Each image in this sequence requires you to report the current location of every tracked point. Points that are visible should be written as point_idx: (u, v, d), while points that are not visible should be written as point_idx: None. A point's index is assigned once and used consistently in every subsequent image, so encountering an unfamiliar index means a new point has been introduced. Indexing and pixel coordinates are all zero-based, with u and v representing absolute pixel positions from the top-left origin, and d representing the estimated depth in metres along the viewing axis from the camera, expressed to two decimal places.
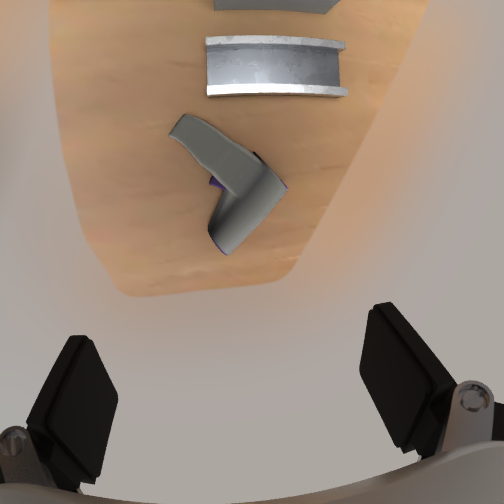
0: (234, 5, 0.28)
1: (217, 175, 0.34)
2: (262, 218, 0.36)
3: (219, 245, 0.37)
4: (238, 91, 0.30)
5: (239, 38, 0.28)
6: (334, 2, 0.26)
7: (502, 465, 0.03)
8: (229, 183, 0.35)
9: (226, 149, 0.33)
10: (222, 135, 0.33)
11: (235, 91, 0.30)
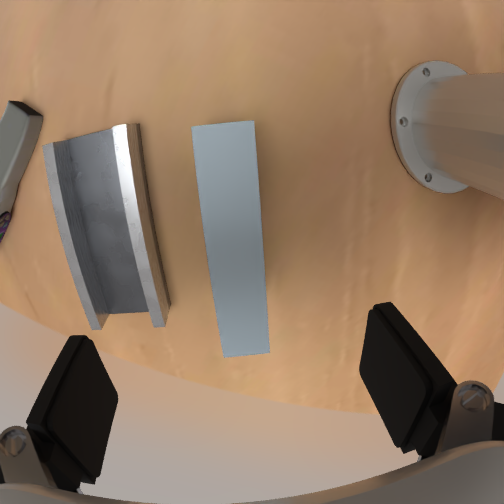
0: None
1: None
2: None
3: None
4: (50, 188, 0.19)
5: (127, 177, 0.20)
6: None
7: (502, 465, 0.03)
8: None
9: None
10: (7, 173, 0.19)
11: (50, 184, 0.19)
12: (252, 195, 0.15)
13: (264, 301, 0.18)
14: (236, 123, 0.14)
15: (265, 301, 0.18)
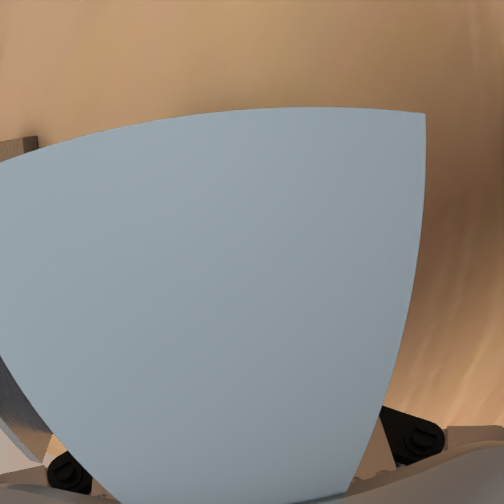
0: None
1: None
2: None
3: None
4: None
5: None
6: None
7: (502, 465, 0.03)
8: None
9: None
10: None
11: None
12: (325, 484, 0.03)
13: None
14: (273, 126, 0.01)
15: None
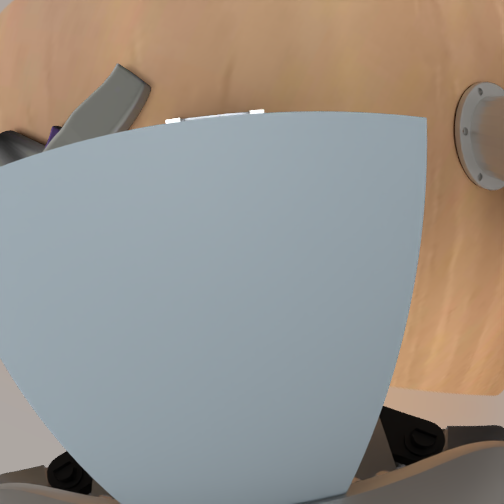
0: None
1: (57, 137, 0.20)
2: None
3: None
4: None
5: None
6: None
7: (502, 465, 0.03)
8: None
9: None
10: None
11: None
12: (325, 486, 0.03)
13: None
14: (274, 131, 0.01)
15: None
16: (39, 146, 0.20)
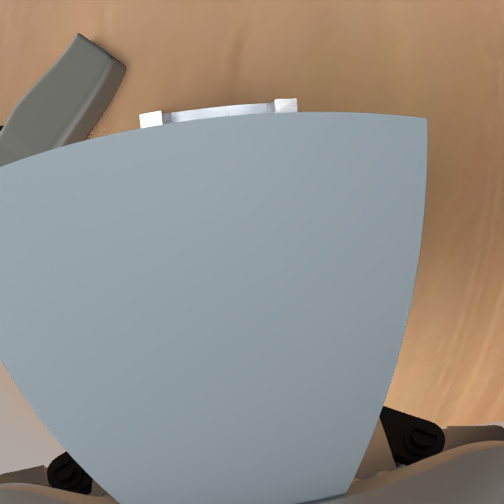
0: None
1: None
2: None
3: None
4: None
5: None
6: None
7: (502, 465, 0.03)
8: None
9: (33, 154, 0.12)
10: (59, 144, 0.13)
11: None
12: (325, 486, 0.03)
13: None
14: (273, 131, 0.01)
15: None
16: None
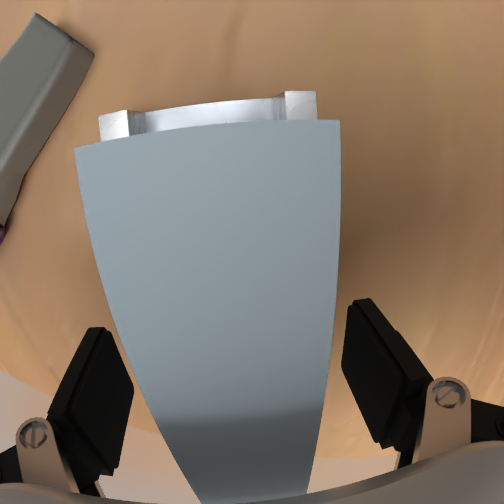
0: None
1: None
2: None
3: None
4: None
5: None
6: None
7: (502, 465, 0.03)
8: None
9: None
10: (7, 153, 0.09)
11: None
12: (307, 379, 0.05)
13: None
14: (265, 128, 0.03)
15: None
16: None
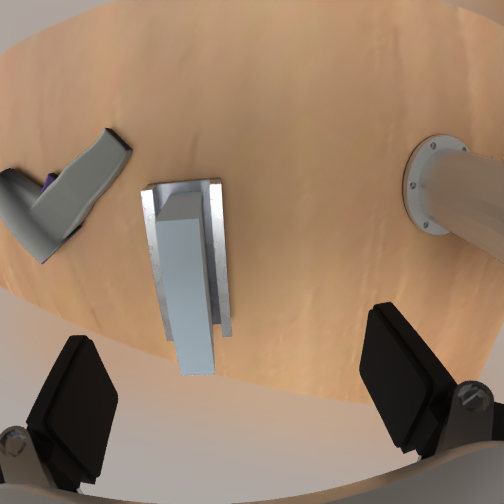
0: None
1: (52, 186, 0.24)
2: (12, 234, 0.24)
3: None
4: (147, 227, 0.27)
5: (219, 225, 0.27)
6: None
7: (502, 465, 0.03)
8: (43, 200, 0.24)
9: (78, 198, 0.25)
10: (95, 195, 0.25)
11: (147, 224, 0.27)
12: (198, 270, 0.22)
13: (209, 339, 0.24)
14: (186, 220, 0.20)
15: (209, 339, 0.24)
16: (36, 189, 0.25)
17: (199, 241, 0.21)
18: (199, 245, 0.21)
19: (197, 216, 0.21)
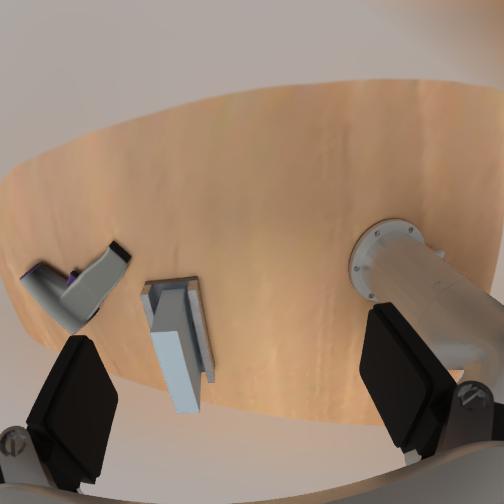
0: None
1: (75, 285, 0.35)
2: None
3: (24, 278, 0.33)
4: (147, 317, 0.37)
5: (197, 315, 0.38)
6: None
7: (502, 465, 0.03)
8: (69, 294, 0.35)
9: (95, 294, 0.36)
10: (107, 293, 0.36)
11: (147, 315, 0.37)
12: (180, 357, 0.32)
13: (193, 393, 0.35)
14: (169, 332, 0.31)
15: (193, 393, 0.35)
16: (62, 283, 0.36)
17: (179, 342, 0.31)
18: (179, 345, 0.32)
19: (176, 328, 0.31)
